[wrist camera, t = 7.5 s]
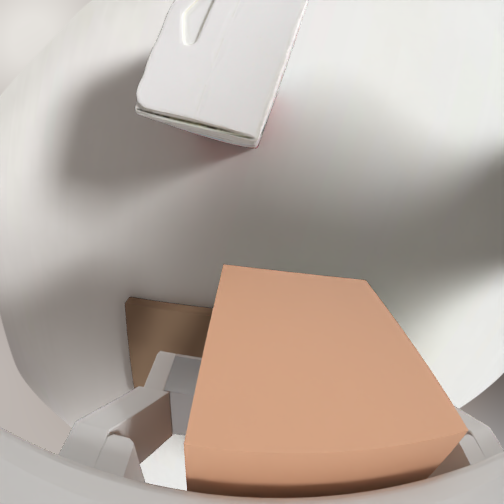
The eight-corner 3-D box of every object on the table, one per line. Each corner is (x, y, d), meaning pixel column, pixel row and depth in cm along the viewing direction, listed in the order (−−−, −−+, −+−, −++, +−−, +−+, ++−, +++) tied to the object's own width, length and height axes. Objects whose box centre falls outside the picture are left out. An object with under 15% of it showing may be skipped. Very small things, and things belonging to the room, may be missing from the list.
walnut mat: (281, 315, 26) (282, 323, 24) (262, 404, 29) (263, 412, 28) (129, 296, 25) (124, 303, 24) (138, 388, 28) (135, 395, 27)
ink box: (256, 151, 21) (264, 154, 10) (188, 132, 21) (127, 119, 10) (291, 45, 19) (330, -37, 7) (225, 27, 18) (206, -65, 7)
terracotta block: (365, 279, 10) (468, 430, 4) (331, 384, 12) (369, 529, 6) (223, 264, 10) (183, 443, 4) (213, 376, 12) (192, 534, 5)
